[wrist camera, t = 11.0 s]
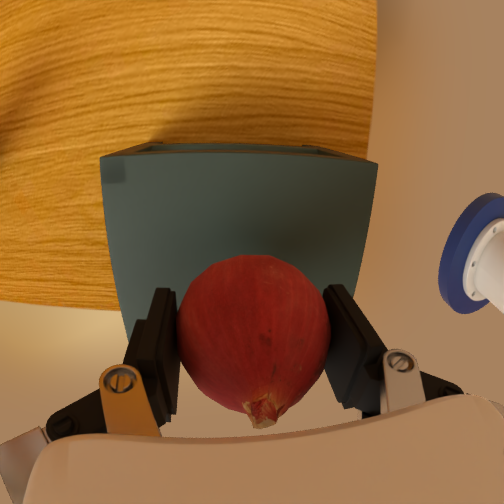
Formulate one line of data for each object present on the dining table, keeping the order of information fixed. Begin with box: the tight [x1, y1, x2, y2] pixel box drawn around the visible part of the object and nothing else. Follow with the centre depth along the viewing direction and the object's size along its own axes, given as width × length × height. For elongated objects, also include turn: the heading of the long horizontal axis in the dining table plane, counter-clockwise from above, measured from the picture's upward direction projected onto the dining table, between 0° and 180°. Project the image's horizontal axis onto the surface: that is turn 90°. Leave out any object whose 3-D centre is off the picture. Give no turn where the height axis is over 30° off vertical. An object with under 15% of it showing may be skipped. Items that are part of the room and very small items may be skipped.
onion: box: [176, 255, 331, 429], centre depth 11 cm, size 6×6×8 cm
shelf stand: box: [100, 142, 378, 342], centre depth 20 cm, size 14×12×10 cm
